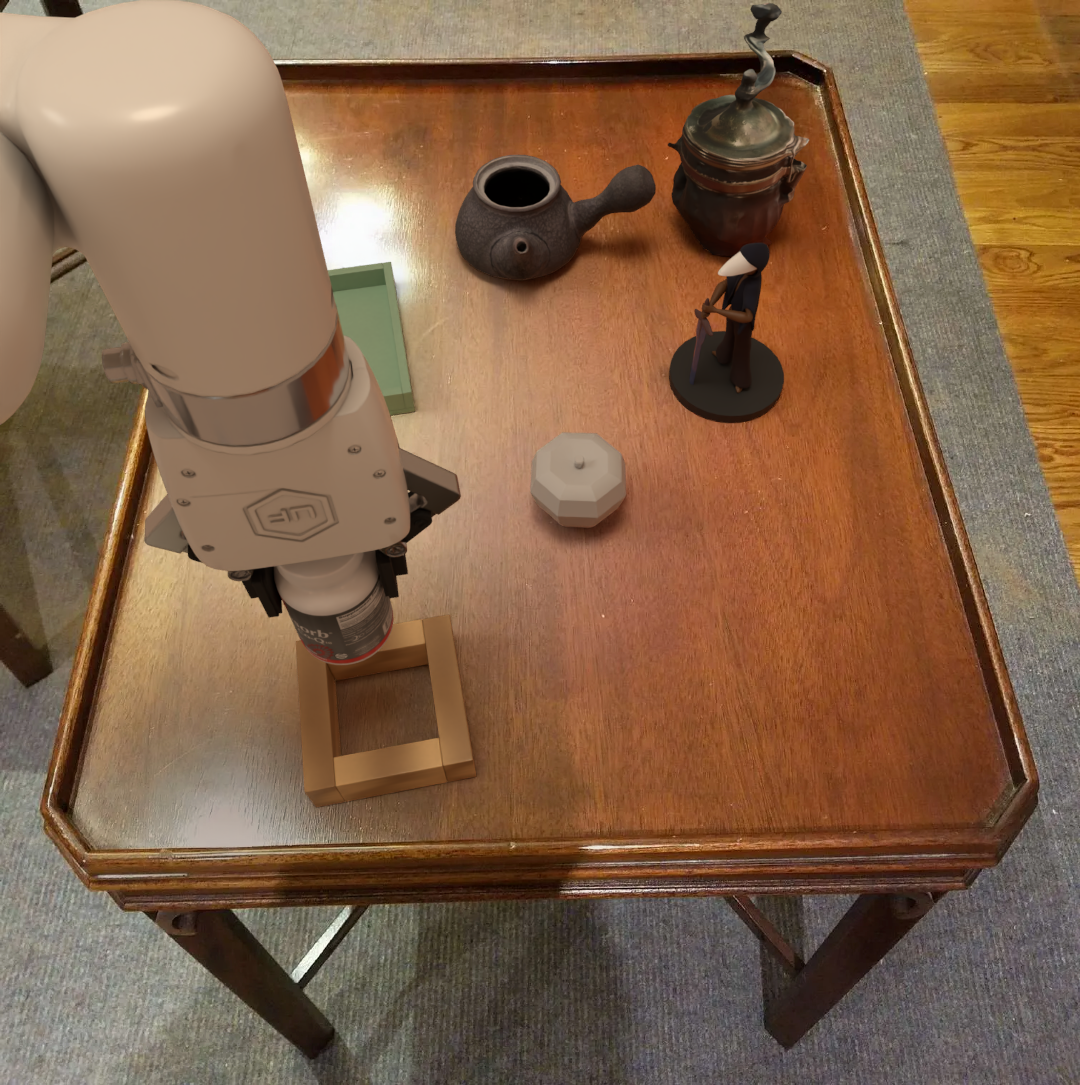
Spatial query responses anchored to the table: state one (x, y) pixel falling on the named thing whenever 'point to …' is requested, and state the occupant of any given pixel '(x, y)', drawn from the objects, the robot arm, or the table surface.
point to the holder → (390, 766)
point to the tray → (375, 327)
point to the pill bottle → (337, 606)
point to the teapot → (536, 215)
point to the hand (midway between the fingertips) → (332, 583)
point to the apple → (578, 479)
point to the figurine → (729, 350)
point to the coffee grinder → (738, 158)
